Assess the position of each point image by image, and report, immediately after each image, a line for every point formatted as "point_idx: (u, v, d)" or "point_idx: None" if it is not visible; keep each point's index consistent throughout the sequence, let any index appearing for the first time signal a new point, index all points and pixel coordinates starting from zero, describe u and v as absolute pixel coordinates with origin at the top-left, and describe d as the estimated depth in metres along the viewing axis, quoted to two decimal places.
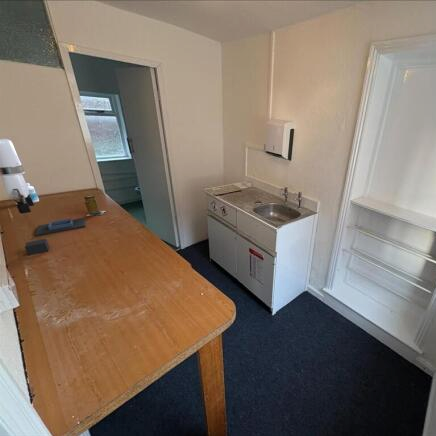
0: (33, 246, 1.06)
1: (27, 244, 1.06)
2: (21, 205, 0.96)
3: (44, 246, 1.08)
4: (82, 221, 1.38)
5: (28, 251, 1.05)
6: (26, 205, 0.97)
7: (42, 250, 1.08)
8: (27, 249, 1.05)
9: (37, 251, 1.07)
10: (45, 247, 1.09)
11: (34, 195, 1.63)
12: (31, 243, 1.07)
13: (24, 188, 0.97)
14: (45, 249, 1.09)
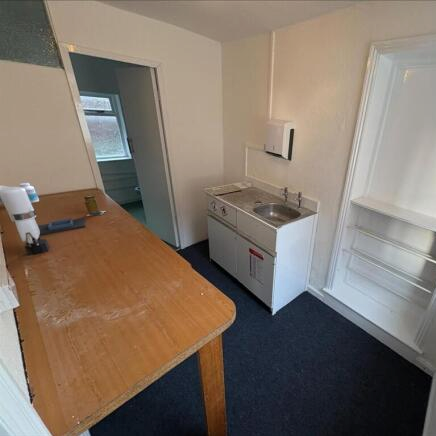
0: None
1: (27, 244, 1.06)
2: (34, 247, 1.05)
3: (44, 246, 1.08)
4: (82, 221, 1.38)
5: (28, 251, 1.05)
6: (39, 246, 1.07)
7: None
8: (27, 249, 1.05)
9: None
10: (45, 247, 1.09)
11: (34, 195, 1.63)
12: None
13: (36, 231, 1.04)
14: (45, 249, 1.09)
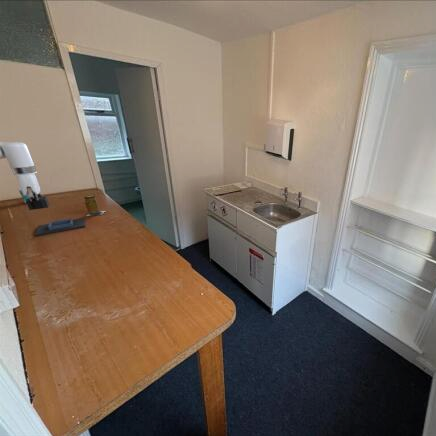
0: None
1: (28, 199, 1.11)
2: (35, 202, 1.10)
3: (44, 202, 1.13)
4: (82, 221, 1.38)
5: (29, 206, 1.11)
6: (39, 202, 1.12)
7: None
8: (28, 204, 1.10)
9: None
10: (45, 203, 1.14)
11: None
12: None
13: (36, 186, 1.09)
14: (45, 205, 1.14)
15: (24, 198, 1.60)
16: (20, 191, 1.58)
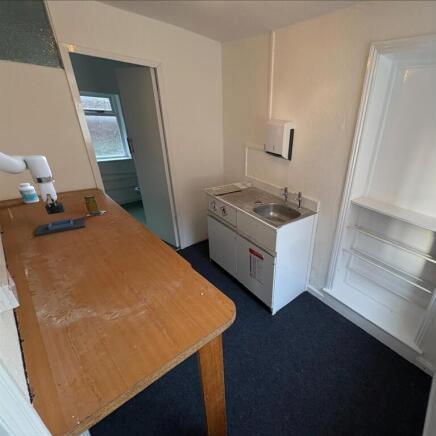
0: None
1: (47, 205, 1.25)
2: (53, 207, 1.25)
3: (61, 207, 1.28)
4: (82, 221, 1.38)
5: (48, 211, 1.25)
6: (56, 207, 1.26)
7: None
8: (47, 209, 1.24)
9: None
10: (62, 208, 1.28)
11: (34, 195, 1.63)
12: None
13: (54, 193, 1.24)
14: (62, 210, 1.28)
15: (24, 198, 1.60)
16: (20, 191, 1.58)
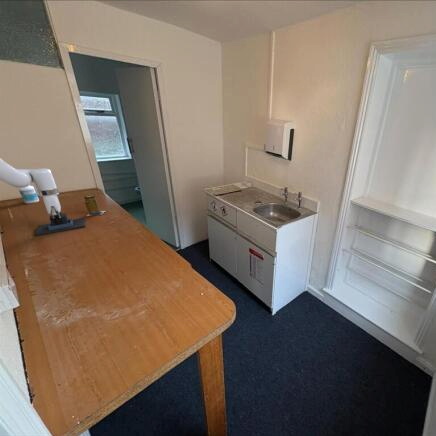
0: None
1: (51, 217, 1.28)
2: (57, 219, 1.27)
3: (65, 218, 1.30)
4: (82, 221, 1.38)
5: (52, 222, 1.27)
6: (60, 219, 1.28)
7: None
8: (51, 220, 1.27)
9: None
10: (65, 220, 1.31)
11: (34, 195, 1.63)
12: None
13: (58, 205, 1.26)
14: (65, 221, 1.31)
15: (24, 198, 1.60)
16: (20, 191, 1.58)
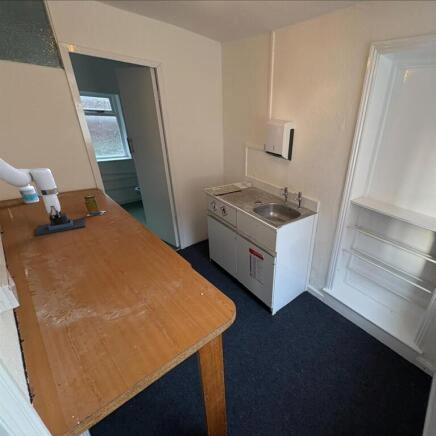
0: None
1: (51, 216, 1.28)
2: (57, 218, 1.27)
3: (64, 218, 1.30)
4: (82, 221, 1.38)
5: (52, 222, 1.27)
6: (60, 218, 1.28)
7: (63, 222, 1.30)
8: (51, 220, 1.27)
9: None
10: (65, 219, 1.30)
11: (34, 195, 1.63)
12: None
13: (58, 205, 1.26)
14: (65, 221, 1.31)
15: (24, 198, 1.60)
16: (20, 191, 1.58)
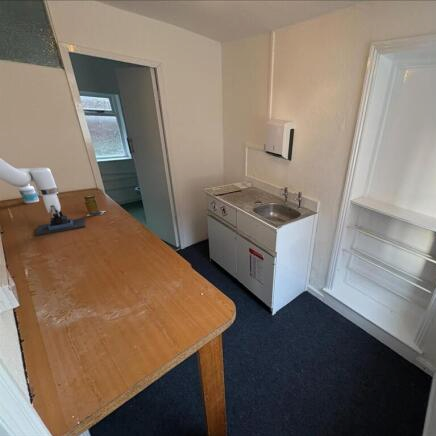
0: None
1: (52, 219, 1.28)
2: (56, 218, 1.26)
3: (66, 221, 1.31)
4: (82, 221, 1.38)
5: (53, 225, 1.28)
6: (60, 218, 1.27)
7: None
8: (52, 223, 1.27)
9: None
10: (66, 222, 1.31)
11: (34, 195, 1.63)
12: None
13: (58, 204, 1.26)
14: None
15: (24, 198, 1.60)
16: (20, 191, 1.58)
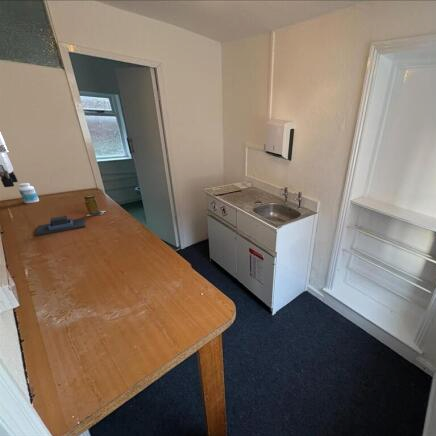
0: (57, 221, 1.28)
1: (52, 219, 1.28)
2: (5, 179, 1.11)
3: (66, 221, 1.31)
4: (82, 221, 1.38)
5: (53, 225, 1.28)
6: (10, 180, 1.12)
7: None
8: (52, 223, 1.27)
9: None
10: (66, 222, 1.31)
11: (34, 195, 1.63)
12: (55, 218, 1.29)
13: (8, 165, 1.12)
14: None
15: (24, 198, 1.60)
16: (20, 191, 1.58)
